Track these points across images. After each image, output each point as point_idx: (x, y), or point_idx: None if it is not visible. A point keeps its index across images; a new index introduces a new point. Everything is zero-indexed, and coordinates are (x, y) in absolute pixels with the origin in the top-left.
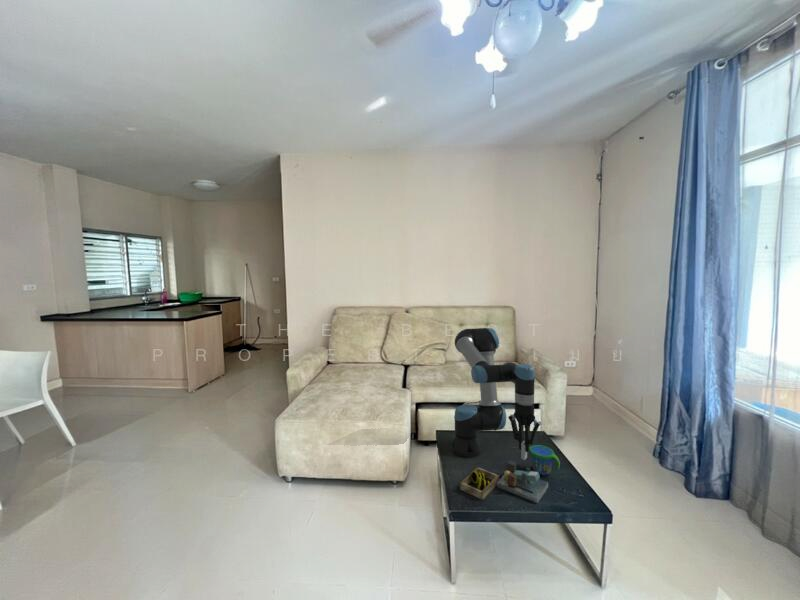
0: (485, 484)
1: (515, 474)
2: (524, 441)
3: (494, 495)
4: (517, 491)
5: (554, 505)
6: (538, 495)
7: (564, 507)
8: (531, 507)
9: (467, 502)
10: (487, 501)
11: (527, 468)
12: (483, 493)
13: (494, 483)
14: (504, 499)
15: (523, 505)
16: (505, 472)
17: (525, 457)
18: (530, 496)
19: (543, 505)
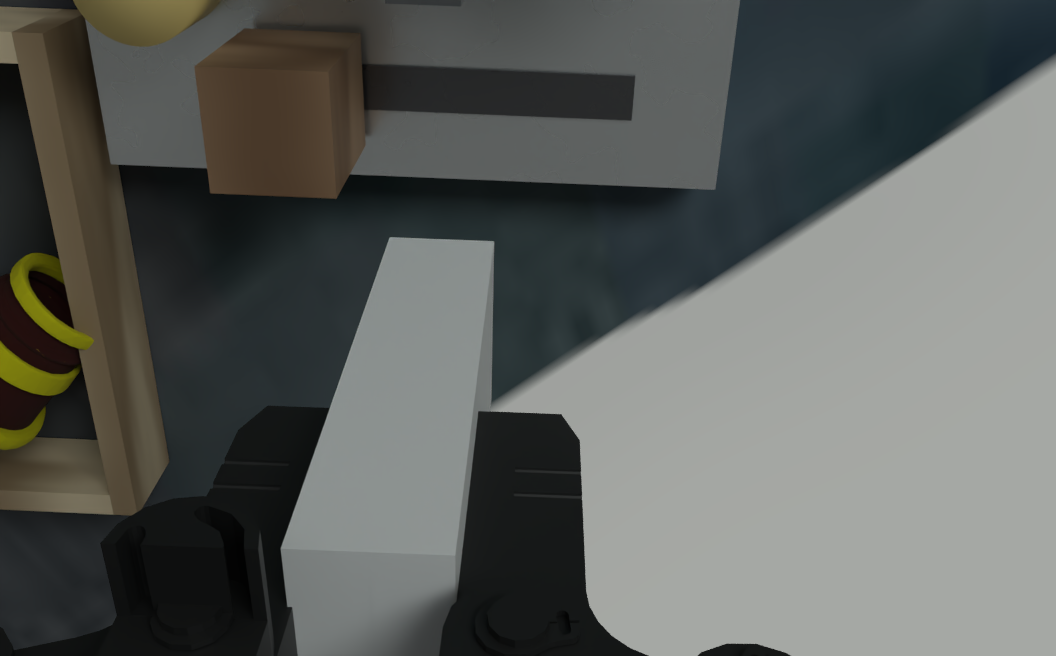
0: (57, 382)
1: (304, 89)
2: (329, 561)
3: (216, 323)
4: (431, 174)
5: (916, 67)
6: (714, 107)
7: (1047, 27)
8: (660, 278)
9: (81, 568)
10: (219, 454)
11: None
12: (141, 492)
13: (97, 194)
14: (345, 323)
15: (569, 297)
16: (102, 8)
17: (489, 381)
18: (618, 183)
19: (783, 155)
